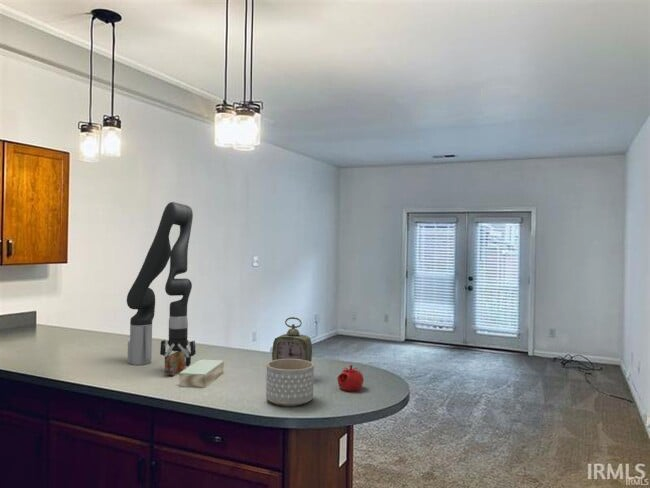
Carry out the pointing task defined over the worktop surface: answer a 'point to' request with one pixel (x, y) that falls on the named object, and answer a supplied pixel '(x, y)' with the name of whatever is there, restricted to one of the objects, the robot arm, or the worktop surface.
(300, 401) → the planter
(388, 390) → the worktop surface
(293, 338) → the tabletop clock
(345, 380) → the pomegranate
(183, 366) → the tin
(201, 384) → the plinth
